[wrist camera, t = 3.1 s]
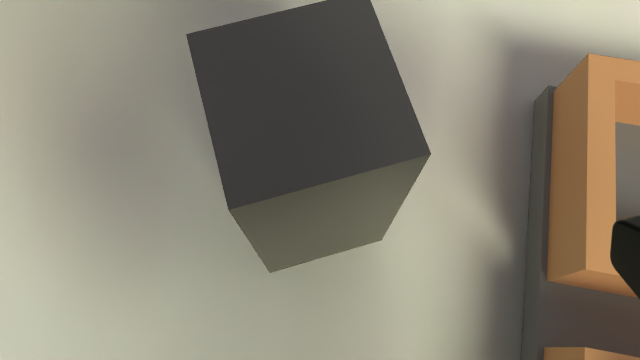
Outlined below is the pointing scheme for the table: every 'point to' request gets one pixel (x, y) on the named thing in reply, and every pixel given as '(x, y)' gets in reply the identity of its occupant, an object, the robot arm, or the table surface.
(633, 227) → the robot arm
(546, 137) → the orange and grey housing
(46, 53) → the table surface
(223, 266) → the table surface
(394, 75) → the dark grey block
